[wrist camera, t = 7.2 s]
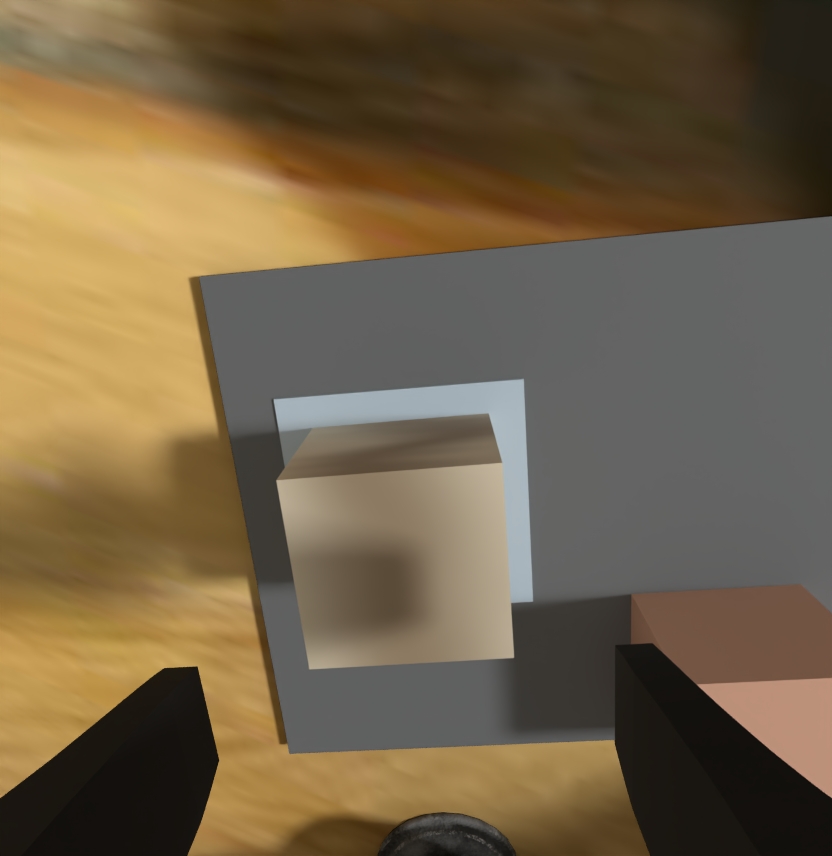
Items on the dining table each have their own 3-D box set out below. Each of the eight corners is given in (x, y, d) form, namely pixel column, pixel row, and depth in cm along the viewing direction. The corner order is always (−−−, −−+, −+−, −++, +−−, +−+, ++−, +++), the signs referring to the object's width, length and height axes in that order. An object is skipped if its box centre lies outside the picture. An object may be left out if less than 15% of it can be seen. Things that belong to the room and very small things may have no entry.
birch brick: (488, 413, 17) (502, 463, 13) (498, 571, 18) (514, 657, 15) (312, 428, 17) (276, 480, 13) (336, 582, 19) (309, 669, 15)
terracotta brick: (800, 584, 18) (896, 674, 14) (786, 719, 20) (870, 835, 16) (631, 593, 19) (681, 685, 15) (630, 727, 20) (674, 841, 16)
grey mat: (972, 202, 15) (989, 201, 15) (889, 718, 20) (900, 730, 19) (204, 275, 17) (197, 277, 16) (292, 744, 21) (288, 756, 21)
